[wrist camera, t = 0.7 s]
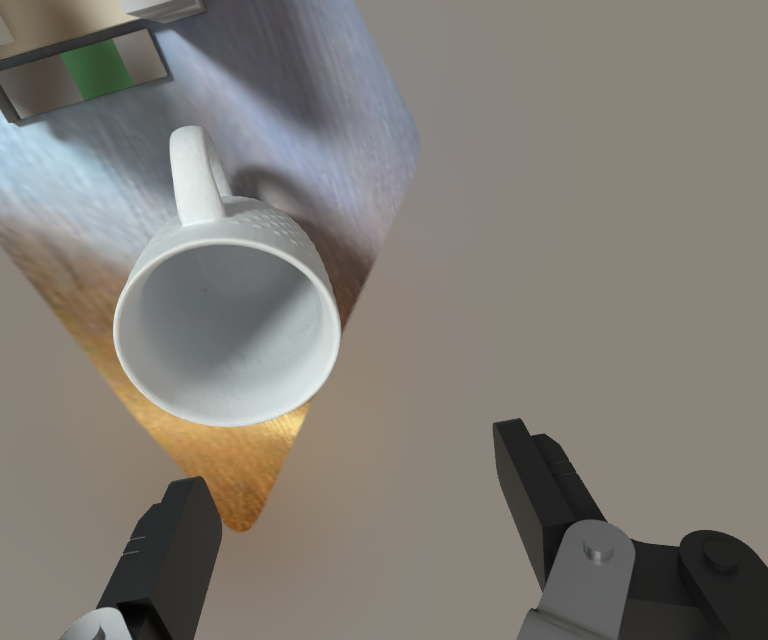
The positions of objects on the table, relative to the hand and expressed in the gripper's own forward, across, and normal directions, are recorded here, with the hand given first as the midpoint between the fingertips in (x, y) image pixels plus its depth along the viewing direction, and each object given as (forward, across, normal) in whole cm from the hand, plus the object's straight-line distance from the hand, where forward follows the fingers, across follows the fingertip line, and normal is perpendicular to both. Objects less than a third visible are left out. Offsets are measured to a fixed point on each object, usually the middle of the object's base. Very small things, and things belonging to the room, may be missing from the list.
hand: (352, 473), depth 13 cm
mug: (+25, +8, -2) cm, 26 cm away
